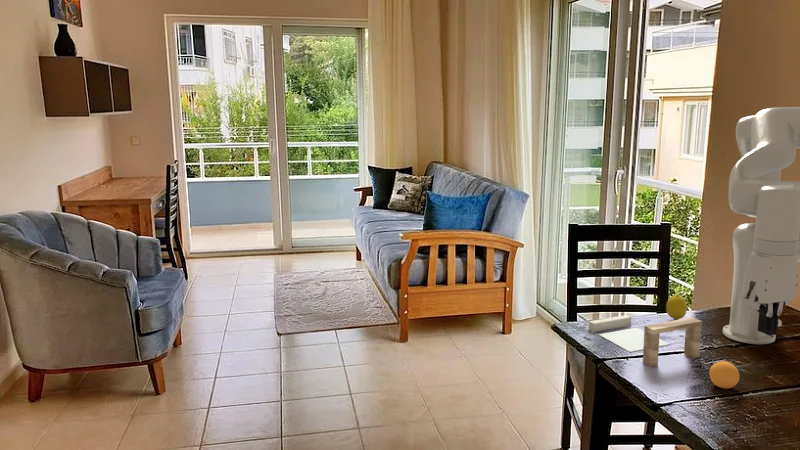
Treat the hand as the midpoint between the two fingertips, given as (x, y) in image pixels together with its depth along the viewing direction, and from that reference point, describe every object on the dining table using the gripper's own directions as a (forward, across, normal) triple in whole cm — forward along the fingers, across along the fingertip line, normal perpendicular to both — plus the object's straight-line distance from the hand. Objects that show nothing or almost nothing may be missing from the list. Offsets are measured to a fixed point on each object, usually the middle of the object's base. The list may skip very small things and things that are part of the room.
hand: (767, 332), depth 122 cm
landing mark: (+17, 0, -40) cm, 43 cm away
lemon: (+17, -21, -47) cm, 54 cm away
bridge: (+17, 0, -26) cm, 31 cm away
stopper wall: (+16, 0, -50) cm, 52 cm away
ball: (+14, 0, -10) cm, 17 cm away
